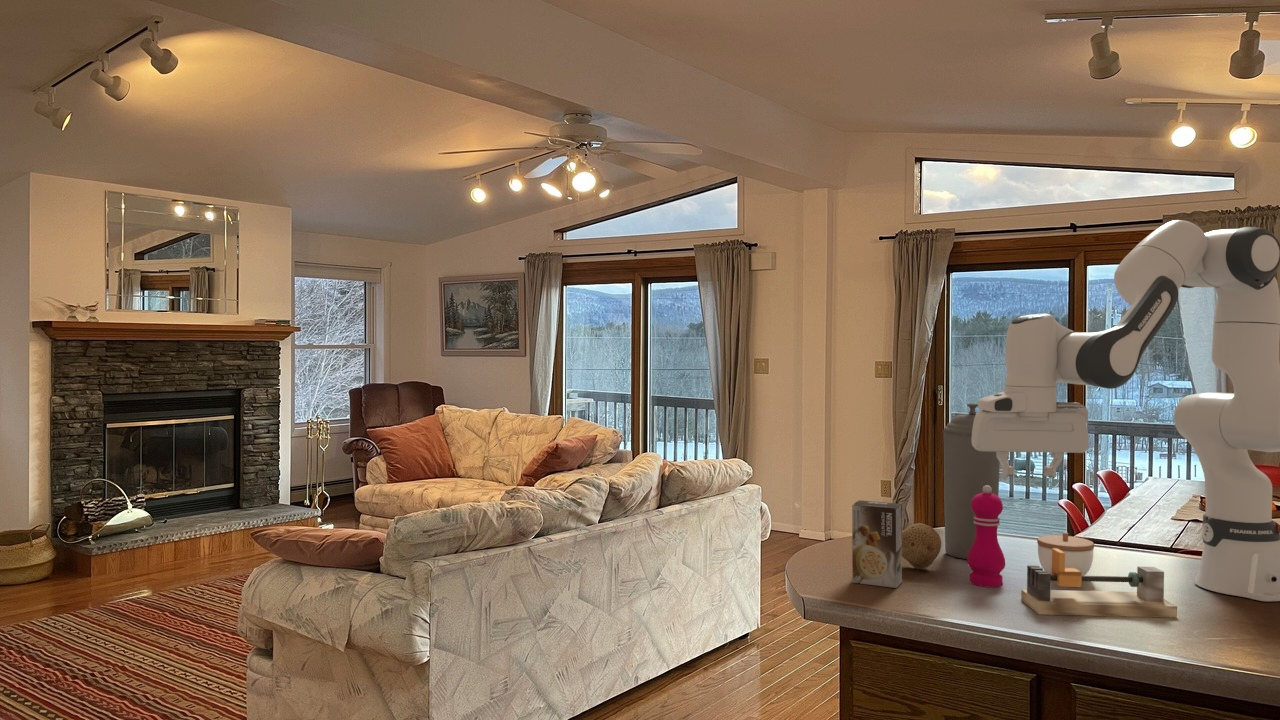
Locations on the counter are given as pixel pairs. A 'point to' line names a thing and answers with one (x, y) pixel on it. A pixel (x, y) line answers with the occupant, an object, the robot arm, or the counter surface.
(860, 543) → the coffee box
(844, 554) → the counter surface
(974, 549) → the pepper mill
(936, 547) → the natural sponge
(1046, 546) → the lidded jar
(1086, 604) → the cord board
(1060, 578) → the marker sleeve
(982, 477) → the canister
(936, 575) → the counter surface
